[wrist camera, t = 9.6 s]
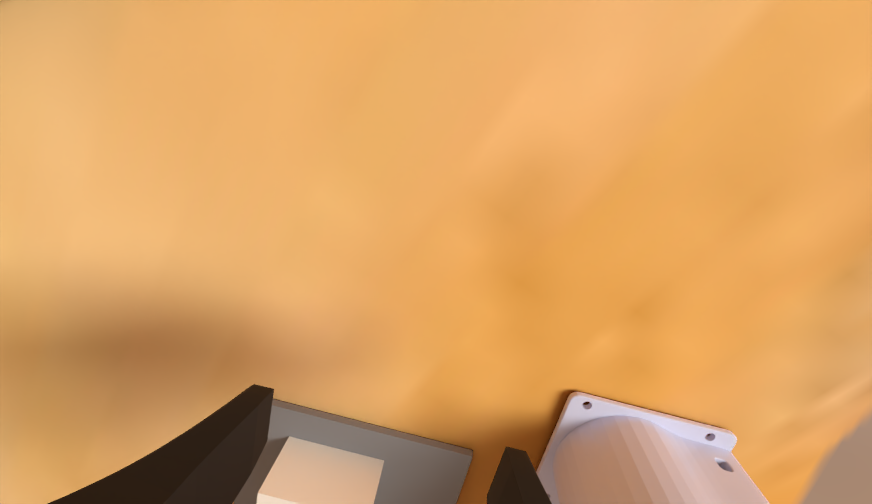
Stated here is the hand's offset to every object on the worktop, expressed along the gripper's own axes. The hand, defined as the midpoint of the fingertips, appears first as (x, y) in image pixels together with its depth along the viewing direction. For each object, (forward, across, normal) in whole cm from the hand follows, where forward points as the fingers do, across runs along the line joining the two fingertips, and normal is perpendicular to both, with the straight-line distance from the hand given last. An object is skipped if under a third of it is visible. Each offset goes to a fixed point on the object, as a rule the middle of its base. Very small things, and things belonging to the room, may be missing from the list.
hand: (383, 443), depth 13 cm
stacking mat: (+10, +2, +14) cm, 18 cm away
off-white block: (+10, +3, +14) cm, 18 cm away
